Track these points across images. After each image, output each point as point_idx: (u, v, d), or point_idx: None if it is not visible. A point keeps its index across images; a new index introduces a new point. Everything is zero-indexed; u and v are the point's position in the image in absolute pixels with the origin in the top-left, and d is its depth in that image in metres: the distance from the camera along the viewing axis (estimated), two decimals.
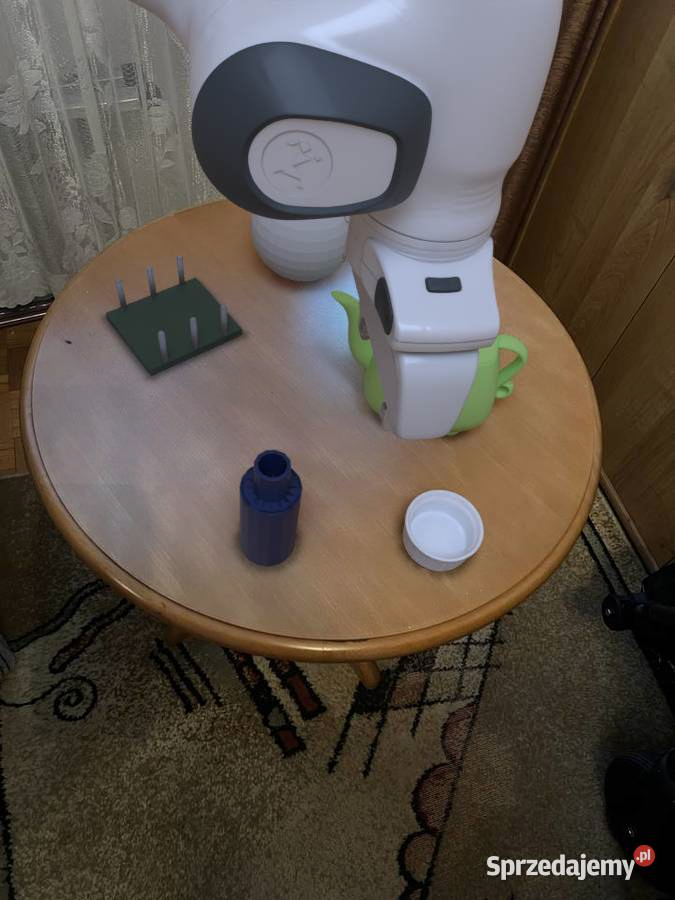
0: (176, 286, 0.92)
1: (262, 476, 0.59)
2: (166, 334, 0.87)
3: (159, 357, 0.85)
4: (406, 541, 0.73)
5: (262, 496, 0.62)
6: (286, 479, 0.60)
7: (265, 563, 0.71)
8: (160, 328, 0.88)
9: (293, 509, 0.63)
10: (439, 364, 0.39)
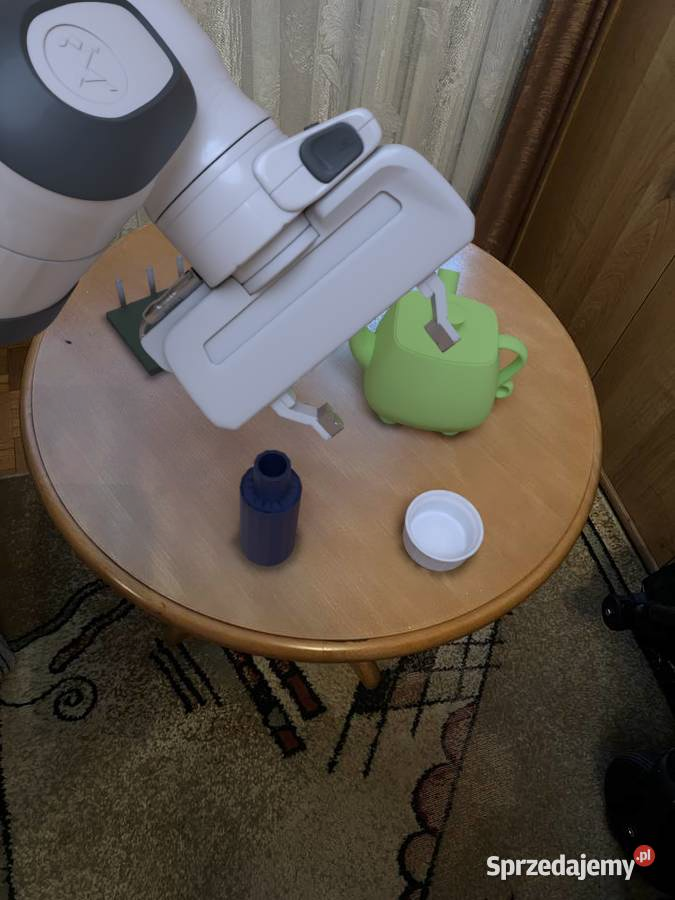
0: None
1: (262, 476, 0.59)
2: None
3: None
4: (406, 541, 0.73)
5: (262, 496, 0.62)
6: (286, 479, 0.60)
7: (265, 563, 0.71)
8: None
9: (293, 509, 0.63)
10: None
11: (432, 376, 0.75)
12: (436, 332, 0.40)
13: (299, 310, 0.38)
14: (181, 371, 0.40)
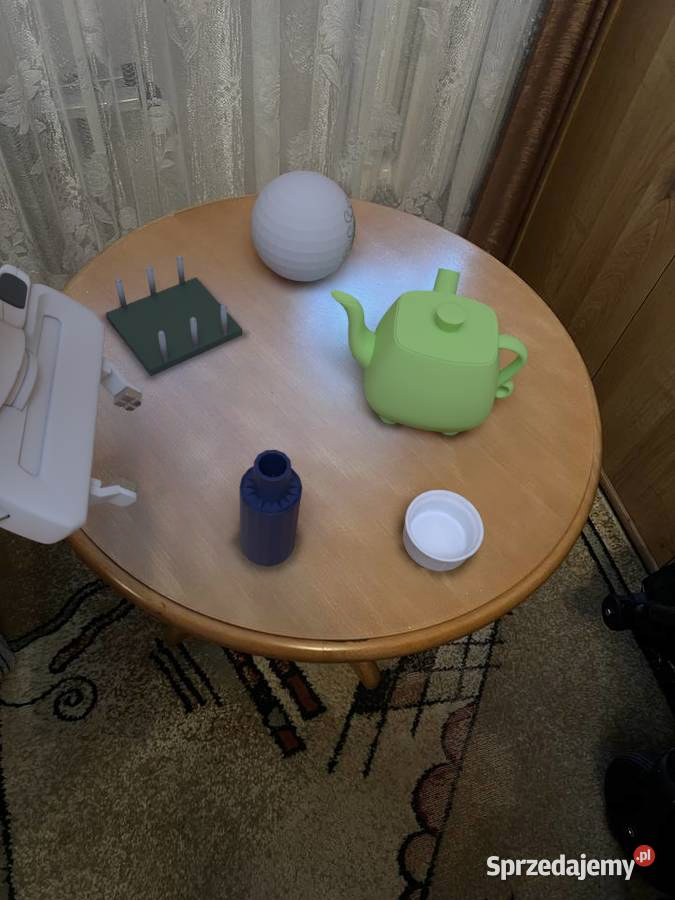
0: (176, 286, 0.92)
1: (262, 476, 0.59)
2: (166, 334, 0.87)
3: (159, 357, 0.85)
4: (406, 541, 0.73)
5: (262, 496, 0.62)
6: (286, 479, 0.60)
7: (265, 563, 0.71)
8: (160, 328, 0.88)
9: (293, 509, 0.63)
10: None
11: (432, 376, 0.75)
12: (129, 391, 0.55)
13: (58, 406, 0.47)
14: (19, 495, 0.42)
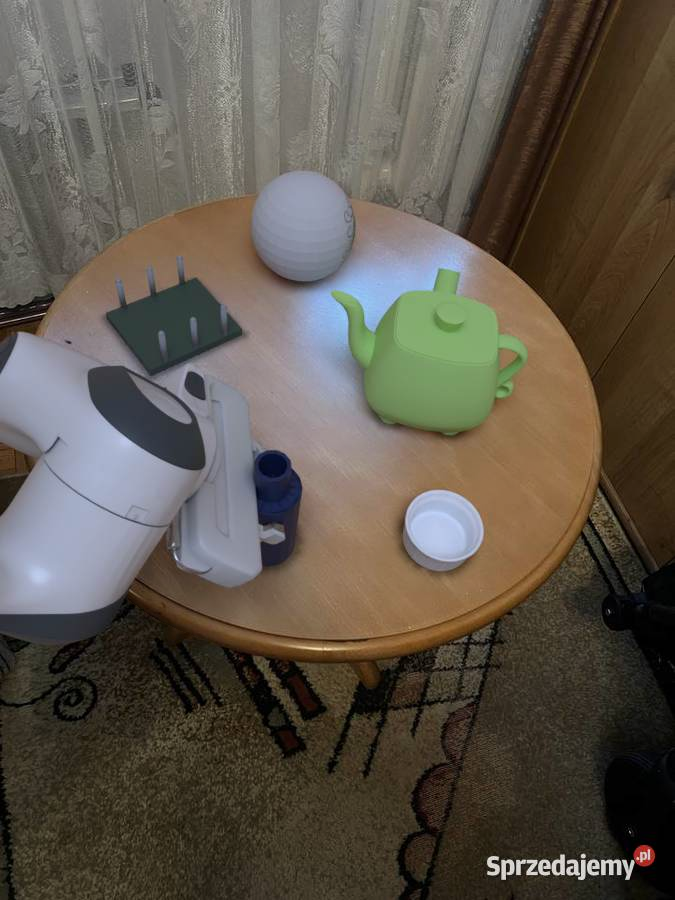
0: (176, 286, 0.92)
1: (262, 476, 0.59)
2: (166, 334, 0.87)
3: (159, 357, 0.85)
4: (406, 541, 0.73)
5: (262, 496, 0.62)
6: (286, 479, 0.60)
7: (266, 563, 0.71)
8: (160, 328, 0.88)
9: (293, 509, 0.63)
10: None
11: (432, 376, 0.75)
12: None
13: (231, 477, 0.59)
14: (221, 552, 0.53)
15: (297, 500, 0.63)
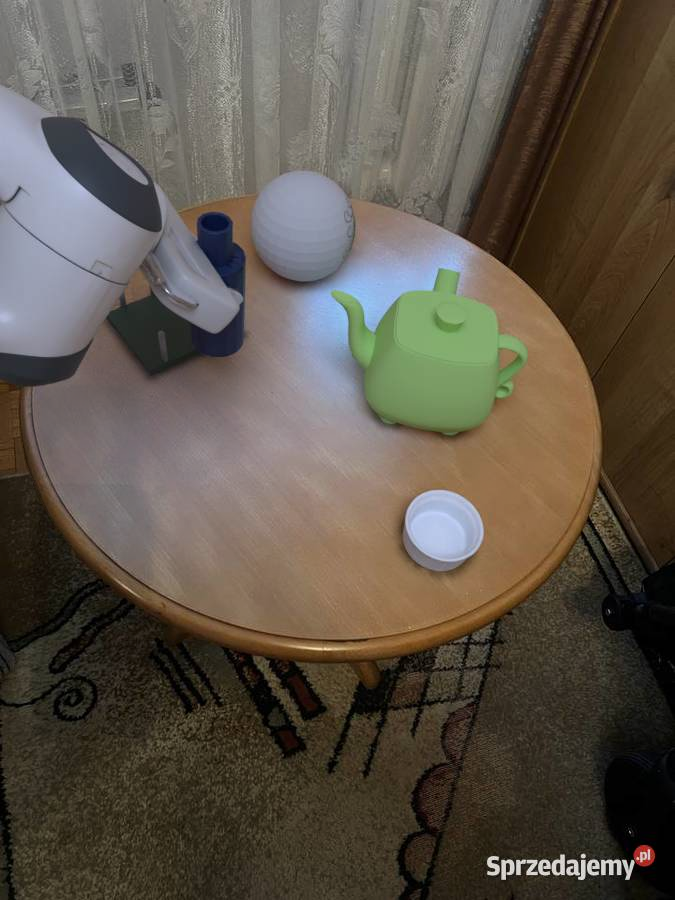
0: None
1: (210, 232, 0.62)
2: (166, 334, 0.87)
3: (159, 357, 0.85)
4: (406, 541, 0.73)
5: (212, 260, 0.65)
6: (231, 233, 0.64)
7: (224, 352, 0.74)
8: (160, 328, 0.88)
9: (243, 270, 0.67)
10: None
11: (432, 376, 0.75)
12: None
13: (181, 238, 0.62)
14: (203, 284, 0.57)
15: (243, 260, 0.67)
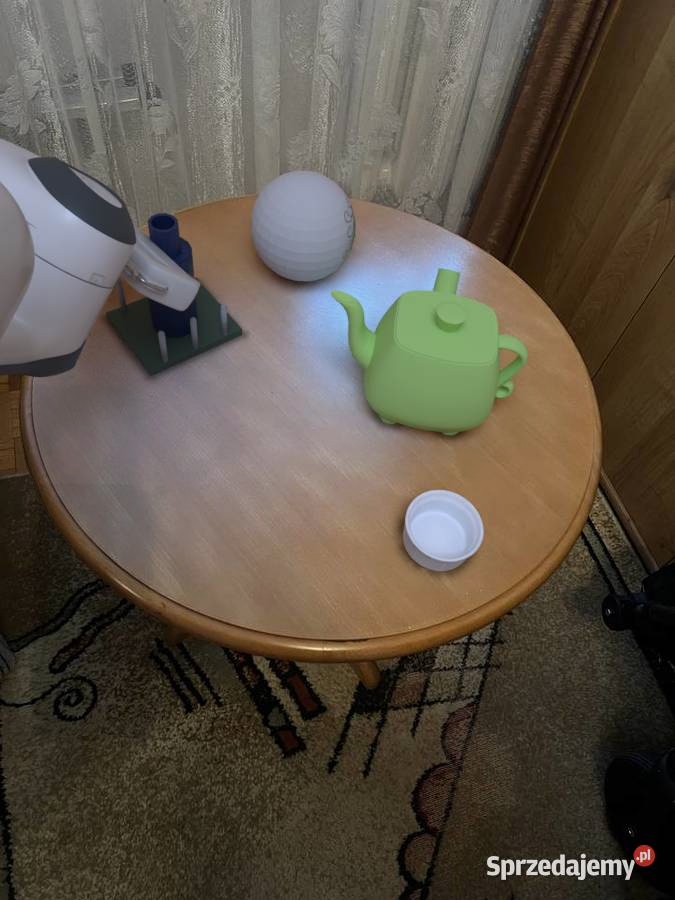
0: None
1: (161, 231, 0.74)
2: None
3: (159, 357, 0.85)
4: (406, 541, 0.73)
5: None
6: (178, 229, 0.76)
7: (184, 332, 0.87)
8: None
9: (191, 258, 0.79)
10: None
11: (432, 376, 0.75)
12: (146, 235, 0.81)
13: (138, 236, 0.73)
14: (169, 271, 0.69)
15: (190, 250, 0.79)
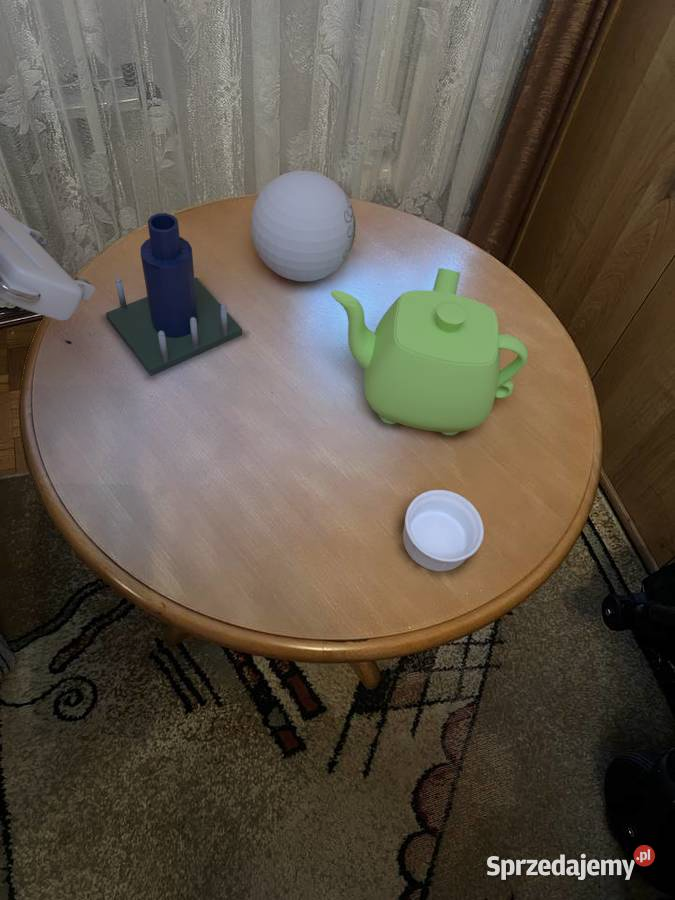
0: None
1: (161, 231, 0.74)
2: None
3: (159, 357, 0.85)
4: (406, 541, 0.73)
5: (165, 254, 0.77)
6: (178, 229, 0.76)
7: (184, 332, 0.87)
8: None
9: (191, 258, 0.79)
10: None
11: (432, 376, 0.75)
12: (35, 233, 0.71)
13: (12, 234, 0.63)
14: (41, 275, 0.58)
15: (190, 250, 0.79)
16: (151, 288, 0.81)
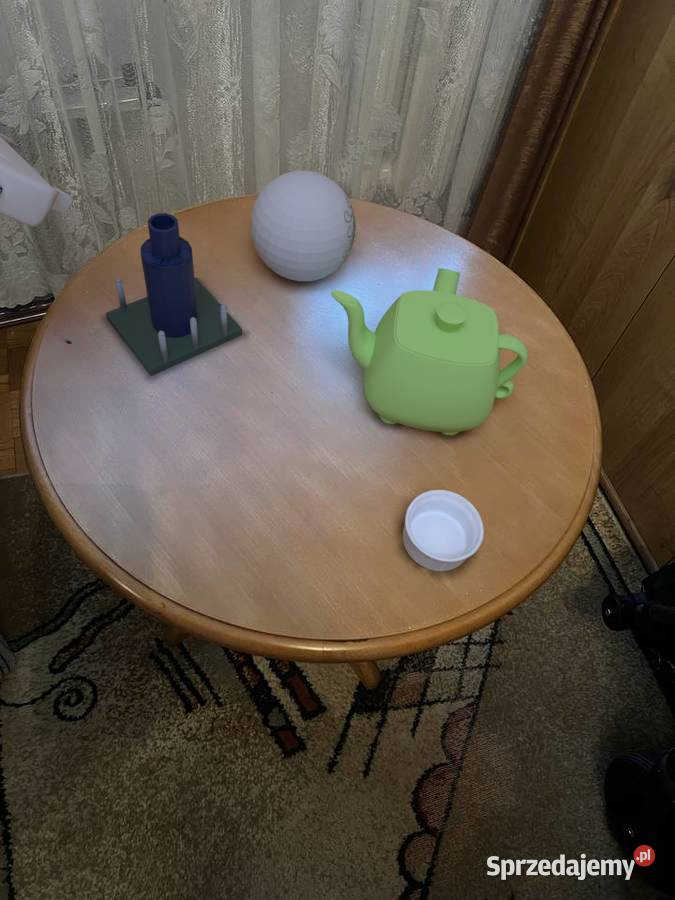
0: None
1: (161, 231, 0.74)
2: None
3: (159, 357, 0.85)
4: (406, 541, 0.73)
5: (165, 254, 0.77)
6: (178, 229, 0.76)
7: (184, 332, 0.87)
8: None
9: (191, 258, 0.79)
10: None
11: (432, 376, 0.75)
12: (6, 138, 0.61)
13: None
14: (2, 163, 0.49)
15: (190, 250, 0.79)
16: (151, 288, 0.81)
